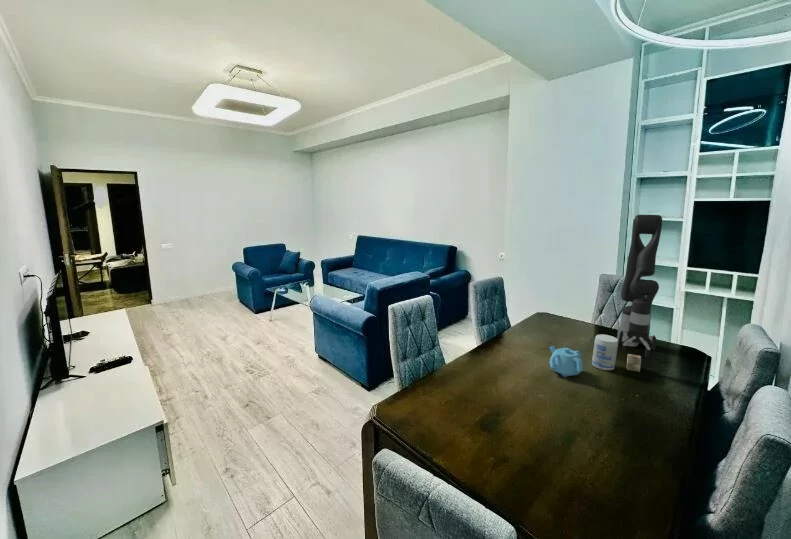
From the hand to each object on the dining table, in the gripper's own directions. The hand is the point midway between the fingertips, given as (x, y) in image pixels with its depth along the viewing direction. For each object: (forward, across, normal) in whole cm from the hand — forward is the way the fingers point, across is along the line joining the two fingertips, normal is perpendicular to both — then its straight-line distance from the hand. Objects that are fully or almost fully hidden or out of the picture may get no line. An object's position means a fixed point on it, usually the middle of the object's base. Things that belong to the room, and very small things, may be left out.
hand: (634, 354), depth 163 cm
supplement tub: (+8, -12, -4) cm, 15 cm away
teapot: (+8, -28, -19) cm, 35 cm away
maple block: (+7, 0, 0) cm, 7 cm away
